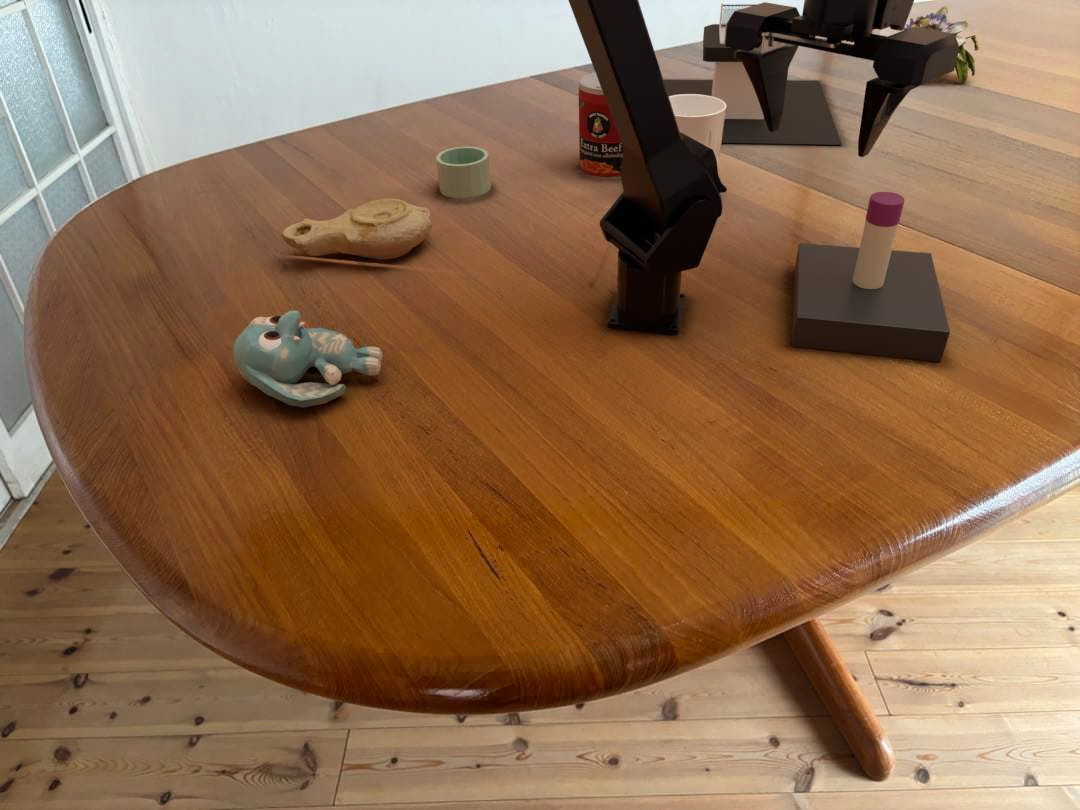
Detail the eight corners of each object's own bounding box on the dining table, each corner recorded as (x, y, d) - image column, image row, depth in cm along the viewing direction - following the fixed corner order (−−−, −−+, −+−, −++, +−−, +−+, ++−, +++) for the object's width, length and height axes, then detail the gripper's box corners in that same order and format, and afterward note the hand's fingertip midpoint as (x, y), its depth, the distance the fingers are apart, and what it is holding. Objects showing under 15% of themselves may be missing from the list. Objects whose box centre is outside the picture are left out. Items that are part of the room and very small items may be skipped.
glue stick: (884, 291, 72) (906, 205, 67) (852, 288, 72) (871, 203, 68) (882, 276, 74) (903, 192, 69) (851, 274, 74) (869, 190, 70)
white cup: (717, 204, 94) (725, 117, 88) (648, 201, 96) (652, 115, 90) (719, 178, 100) (727, 94, 94) (654, 175, 102) (658, 93, 96)
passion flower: (903, 116, 131) (868, 48, 127) (931, 86, 136) (899, 20, 132) (972, 87, 121) (936, 13, 118) (999, 55, 126) (966, -16, 123)
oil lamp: (283, 261, 87) (272, 217, 84) (397, 220, 94) (390, 178, 91) (332, 297, 81) (322, 251, 78) (450, 250, 88) (445, 206, 85)
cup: (482, 203, 97) (478, 167, 94) (433, 200, 98) (428, 164, 96) (497, 183, 102) (494, 147, 99) (450, 180, 103) (446, 145, 100)
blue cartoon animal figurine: (377, 356, 62) (213, 342, 61) (375, 429, 67) (221, 418, 65) (388, 287, 71) (244, 273, 69) (385, 355, 75) (249, 343, 73)
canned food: (569, 175, 103) (567, 85, 96) (595, 153, 108) (596, 66, 102) (625, 184, 100) (628, 92, 93) (650, 161, 105) (654, 72, 99)
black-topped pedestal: (842, 145, 107) (862, 37, 99) (640, 142, 111) (644, 37, 103) (818, 81, 129) (834, -12, 121) (651, 80, 133) (655, -11, 125)
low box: (940, 362, 68) (950, 331, 66) (791, 346, 71) (797, 317, 69) (923, 281, 79) (931, 252, 77) (794, 270, 82) (799, 242, 80)
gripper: (1018, -59, 62) (962, 144, 72) (807, -78, 74) (782, 99, 83) (946, -36, 57) (895, 180, 66) (729, -61, 68) (712, 127, 77)
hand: (816, 142), depth 73 cm, fingers open, 9 cm apart
